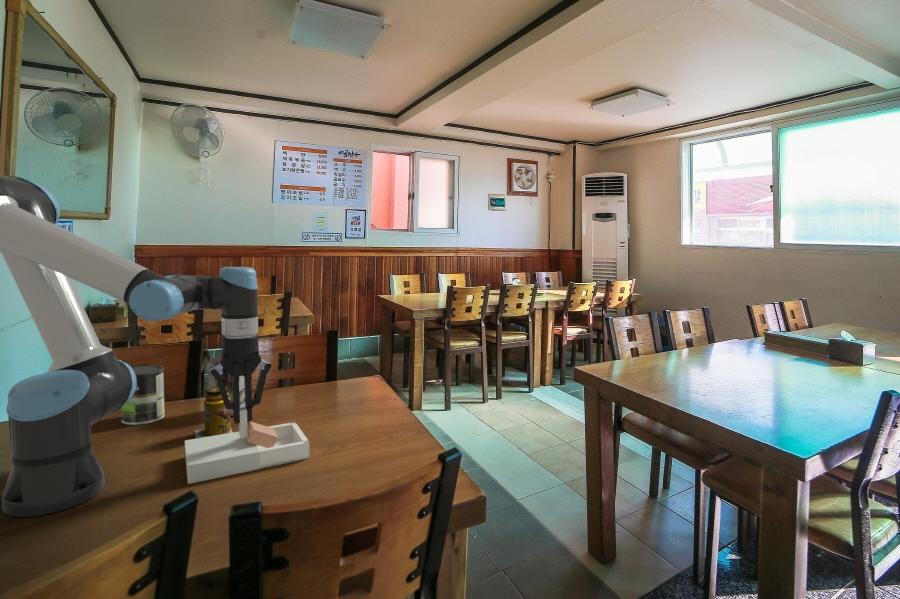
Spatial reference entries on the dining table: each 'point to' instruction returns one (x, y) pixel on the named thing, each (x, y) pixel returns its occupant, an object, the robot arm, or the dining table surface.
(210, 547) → the dining table surface
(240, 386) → the coffee box
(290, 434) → the box
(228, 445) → the white flat block
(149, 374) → the coffee can
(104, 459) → the dining table surface
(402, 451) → the dining table surface
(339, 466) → the dining table surface
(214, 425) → the condiment
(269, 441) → the tile
